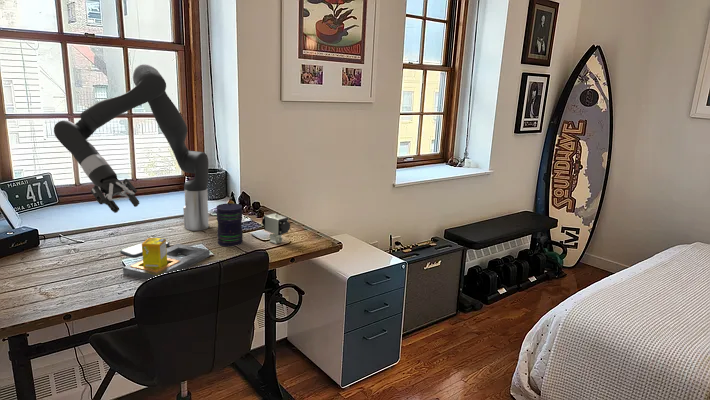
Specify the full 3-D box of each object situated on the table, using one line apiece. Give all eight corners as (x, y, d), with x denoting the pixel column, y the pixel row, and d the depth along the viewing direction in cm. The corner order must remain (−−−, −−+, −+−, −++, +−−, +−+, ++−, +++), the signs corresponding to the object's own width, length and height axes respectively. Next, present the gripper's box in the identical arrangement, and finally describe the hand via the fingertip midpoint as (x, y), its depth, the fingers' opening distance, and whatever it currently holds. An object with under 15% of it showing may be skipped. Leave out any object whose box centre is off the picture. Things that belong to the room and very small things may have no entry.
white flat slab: (133, 259, 173) (171, 246, 186) (133, 255, 173) (170, 242, 186) (118, 254, 178) (156, 241, 191) (118, 250, 177) (156, 238, 190)
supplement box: (150, 267, 165) (148, 237, 163) (168, 268, 165) (166, 238, 163) (143, 274, 160) (141, 243, 157) (161, 275, 160) (159, 244, 157)
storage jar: (241, 246, 189) (241, 209, 185) (216, 246, 187) (214, 210, 183) (243, 238, 198) (242, 203, 195) (218, 238, 197) (217, 203, 193)
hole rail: (123, 274, 159) (122, 266, 158) (177, 249, 182) (177, 242, 182) (158, 282, 154) (157, 274, 153) (209, 256, 177) (209, 249, 177)
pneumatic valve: (281, 247, 190) (282, 218, 187) (261, 240, 197) (261, 212, 194) (291, 243, 194) (292, 215, 191) (271, 237, 201) (271, 209, 198)
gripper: (85, 167, 154) (116, 206, 153) (121, 160, 167) (149, 197, 166) (75, 181, 157) (104, 220, 156) (110, 174, 170) (138, 209, 169)
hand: (127, 208), depth 161 cm, fingers open, 8 cm apart
